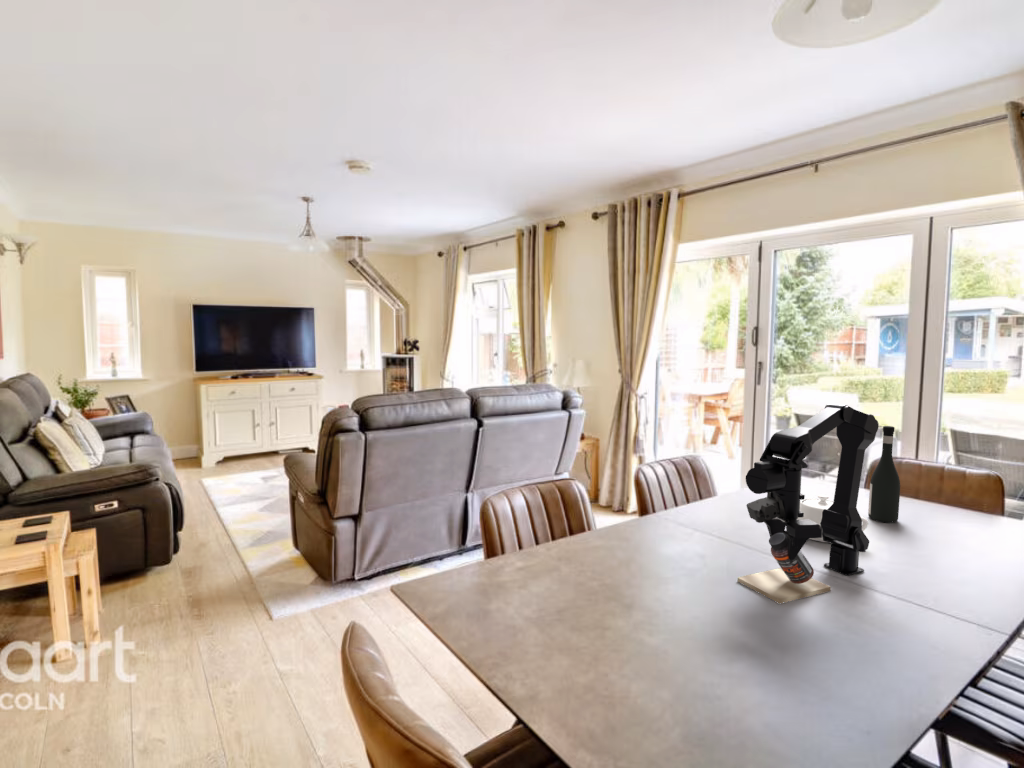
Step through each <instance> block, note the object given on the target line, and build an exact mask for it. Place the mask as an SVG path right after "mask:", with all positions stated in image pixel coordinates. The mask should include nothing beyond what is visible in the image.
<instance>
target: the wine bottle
mask: <svg viewBox="0 0 1024 768" xmlns="http://www.w3.org/2000/svg"><path fill="white" fill-rule="evenodd" d="M882 432H883V433H882V449H881V450H882V451H881V456H880V459H879V461H878V462H877V465H876V467H875V469H874V471H873V472H872V475H871V478H870V483H869V496H868V512H867V514H868V517H869V518H870V519H872V520H873V521H876V522H880V523H889V524H890V523H891V524H892V523H896V522H897V521H898V520H899V513H900V512H899V511H900V499H901V497H900V496H901V481H900V476H899V473H898V470H897V468H896V466H895V463H894V458H893V445H894V434H895V427H894V426H892V425H884V426H883V427H882Z"/></svg>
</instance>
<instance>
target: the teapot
mask: <svg viewBox="0 0 1024 768" xmlns="http://www.w3.org/2000/svg"><path fill="white" fill-rule="evenodd" d="M817 497H818V498H804V500H800V511H801V512H803V513H804V517H798V519H797V520H803V519H809V520H811V521H813V522H815V523H817V524H819V525H820V523H821V520H822V512H823V510H824V509H826V510H827V509H828V508H829V507H830V506H831V505H832V504H833V501H834V500H833V501H832V500H828V499H829V498H830V497H829V495H826V494H818V495H817ZM860 517H861V519H862V531H863V532H864V531H865V530H866V529H867V528H868V525H869V521H868V519H867V518H865V517H864V516H862V515H860ZM820 526H821V525H820ZM808 540H813V541H816V542H820V543H821V542H822V543H826V542H825V541H823V536H822V538H809V539H808Z"/></svg>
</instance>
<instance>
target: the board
mask: <svg viewBox="0 0 1024 768" xmlns="http://www.w3.org/2000/svg"><path fill="white" fill-rule="evenodd" d="M737 582H738V583H739V582H740V584H741V583H742V585H743V584H744V585H743V586H745V585H746V586H745V587H747V586H748V587H747V588H749V587H750V588H749V589H751V590H752V589H753V590H752V591H754V590H755V592H756V591H757V592H756V593H758V592H759V593H758V594H760V593H761V594H760V595H762V594H763V595H762V596H764V595H765V596H766V597H765V596H764V597H765V598H767V597H768V599H769V598H770V600H771V599H772V600H771V601H773V600H774V601H773V602H775V601H776V602H775V603H777V602H778V603H779V604H778V603H777V604H778V605H781V604H784V603H783V602H785V603H788V601H789V602H793V601H797V600H800V598H801V599H803V598H804V597H805V598H808V596H809V597H813V596H816V594H817V595H821V594H824V593H827V592H831V588H832V587H831V585H829V584H825V583H824V582H821V581H819V580H817V579H815V578H813V577H812V578H811V579H810V580H808V581H807V582H805V583H801V584H796V583H793V582H791V581H790V580H789V579H788V577H787V576H786V574H785V573H784V571H783V570H782V568H781V567H779V568H778V567H777V568H774V569H770V570H765V571H761V572H756V573H751V574H746V575H743V576H738V577H737ZM805 598H804V599H805ZM796 599H797V600H796ZM792 600H793V601H792ZM780 603H781V604H780Z"/></svg>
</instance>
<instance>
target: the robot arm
mask: <svg viewBox="0 0 1024 768" xmlns="http://www.w3.org/2000/svg"><path fill="white" fill-rule="evenodd" d="M834 429H836V433H835V435H836V437H837V439H838V442H839V443H840V446H841V449H840V456H839V464H838V469H837V476H836V481H835V489H834V497H833V504H832V505H831V506H830V507H829V508H828V509H827V510H826V509H824V510H823V512H822V520H821V523H820V525H821V526H820V525H819V524H817V523H815V522H813V521H811V520H809V519H803V520H797V519H798V517H804V513H803V512H801V511H800V502H801V501H802V500H804V499H806V498H805V497H806V495H805V494H803V493H801V491H802V469H808V467H809V465H808V464H807V463H806V462H805V461H804V459H806V458H807V457H808V456H809V454H810V453H812V451H813V445H814V444H815V443H816V442H817V441H819V440H820V439H821V438H823V437H824V436H826V435H827V434H829V433H830V432H832V431H833V430H834ZM878 430H879V421H878V420H877V419H876V418H875V416H874V414H871V413H865V412H862V411H860V410H856V409H854V408H853V407H851V406H849V405H848V404H841V403H827V404H826V405H825V407H824V408H823V409H821V410H820V411H819V412H817V413H815V414H814V415H813V416H810V418H809V419H807V420H805V421H804V422H803V423H801V424H800V425H797V426H795V427H790V428H785V429H781V430H779V431H777V432H775V433H773V434H772V436H771V437H770V439H769V442H768V443H767V445H766V446H765V448H764V450H763V452H762V454H761V456H760V458H759V461H757V462H754V464H753V467H752V468H750V469H749V470H748V471H747V472H746V475H745V483H746V486H747V488H748V489H749V491H751V492H752V493H754V494H756V495H758V494H759V495H760V494H766V497H762V498H758V499H756V500H753V501H751V502H749V503H747V504H746V505H745V506H746V508H747V511H748V516H749V518H751V519H752V520H754V521H755V522H756V523H758V524H762V523H764V524H765V525H766V528H767V531H768V534H769V538H770V537H771V536H772V535H774V534H776V533H783V534H784V535H785V536H786V537H787V545H788V557H789V560H794V559H795V558H796V556H797V555H798V553H799V552H800V550H801V551H802V548H803V547H804V545H805V544H806V543H807V541H809V540H810V539H809V538H822V536H823V541H825V542H824V543H829V544H830V551H829V559H828V562H825V563H823V566H824V567H826V568H828V569H830V570H833V571H834V572H838V573H840V574H841V575H845V576H852V575H855V574H860V573H864V572H865V569H864V568H861V567H859V562H860V561H859V560H860V559H859V558H860V553H865V552H866V550H869V549H868V548H869V544H870V540H869V538H868V536H866V534H865V533H864V531H862V524H863V522H862V519H861V517H860V516H861V515H860V512H859V511H858V509H857V504H858V500H859V499H858V498H859V491H860V485H861V480H862V479H861V478H862V473H863V466H864V460H865V451H866V449H868V448H869V447H870V445H871V444H873V443H874V442H875V440H876V435H877V433H878ZM785 529H786V530H785Z"/></svg>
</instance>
